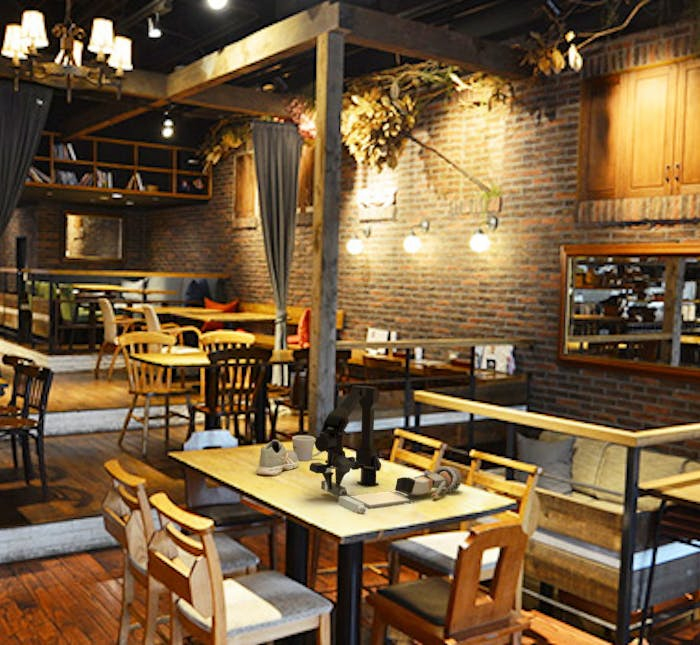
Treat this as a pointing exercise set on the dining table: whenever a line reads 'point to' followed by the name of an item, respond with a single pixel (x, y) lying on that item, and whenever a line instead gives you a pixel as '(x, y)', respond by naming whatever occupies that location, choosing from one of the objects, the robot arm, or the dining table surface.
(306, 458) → the mug
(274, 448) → the running shoe
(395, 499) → the whiteboard
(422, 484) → the toy
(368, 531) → the dining table surface
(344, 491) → the black marker
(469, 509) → the dining table surface
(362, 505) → the pale blue marker
